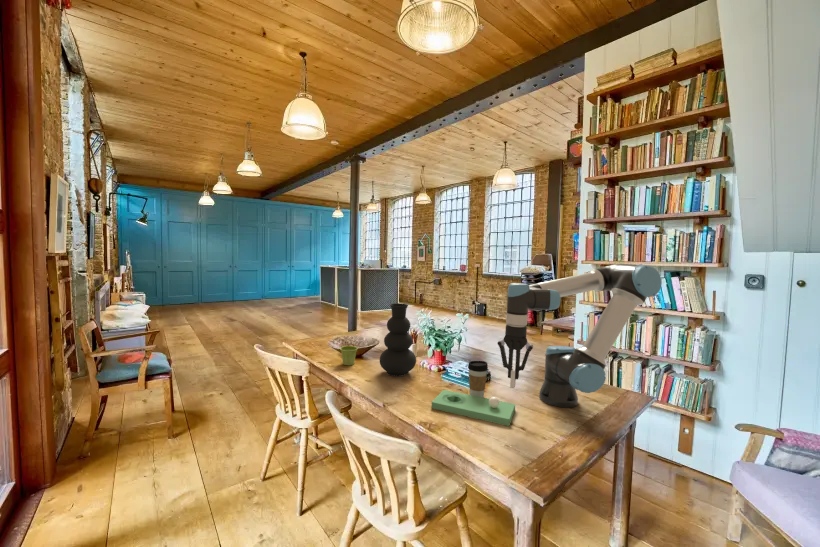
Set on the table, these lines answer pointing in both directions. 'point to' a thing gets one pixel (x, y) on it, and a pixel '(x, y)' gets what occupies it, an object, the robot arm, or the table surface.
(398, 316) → the vase
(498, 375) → the table surface
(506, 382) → the table surface
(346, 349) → the plant pot
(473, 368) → the coffee cup
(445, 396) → the block
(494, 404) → the ball
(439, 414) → the table surface
